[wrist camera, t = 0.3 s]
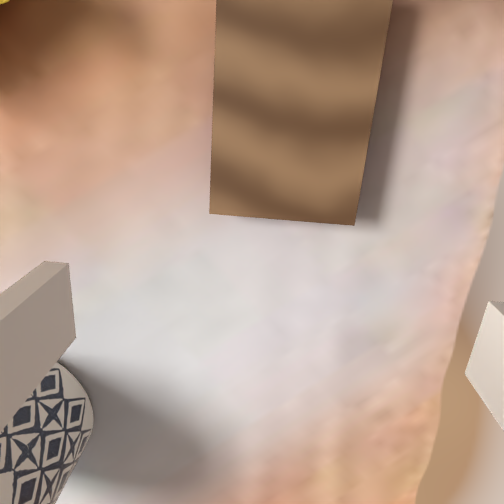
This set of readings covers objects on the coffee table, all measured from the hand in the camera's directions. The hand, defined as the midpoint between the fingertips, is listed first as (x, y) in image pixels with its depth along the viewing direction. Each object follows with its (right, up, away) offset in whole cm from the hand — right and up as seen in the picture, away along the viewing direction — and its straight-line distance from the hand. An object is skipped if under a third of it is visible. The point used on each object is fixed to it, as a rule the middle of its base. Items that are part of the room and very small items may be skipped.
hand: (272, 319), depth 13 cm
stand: (+3, +14, +23) cm, 27 cm away
